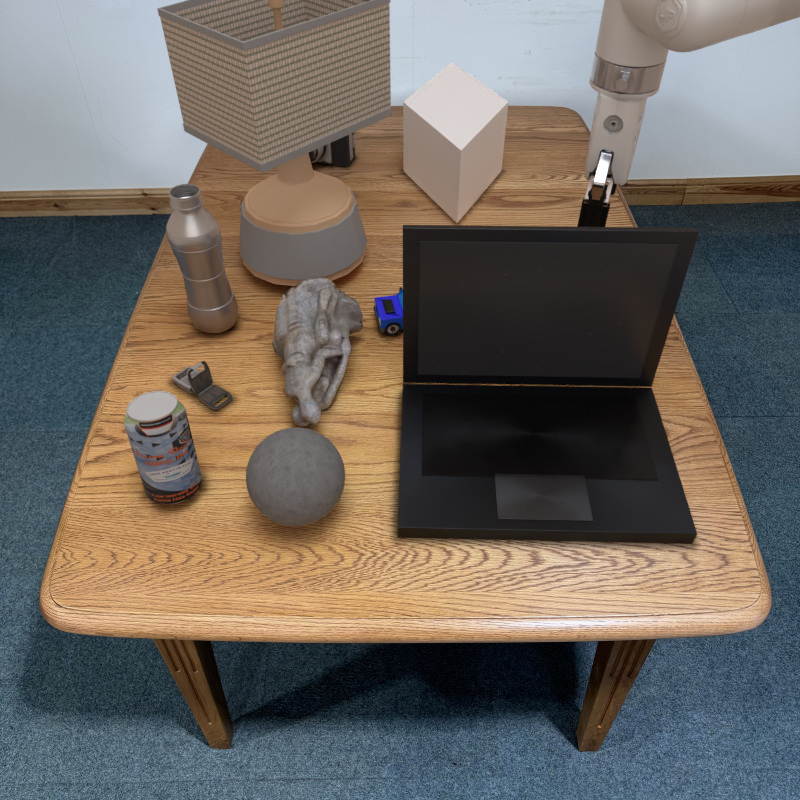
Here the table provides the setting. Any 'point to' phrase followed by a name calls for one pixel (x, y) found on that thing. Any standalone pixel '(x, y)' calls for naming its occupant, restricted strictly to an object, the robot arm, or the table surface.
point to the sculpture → (314, 344)
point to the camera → (335, 152)
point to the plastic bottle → (200, 260)
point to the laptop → (538, 465)
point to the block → (454, 139)
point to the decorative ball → (295, 476)
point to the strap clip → (202, 385)
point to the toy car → (389, 313)
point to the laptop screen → (540, 303)
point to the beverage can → (163, 447)
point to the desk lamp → (284, 115)
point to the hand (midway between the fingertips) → (596, 211)
